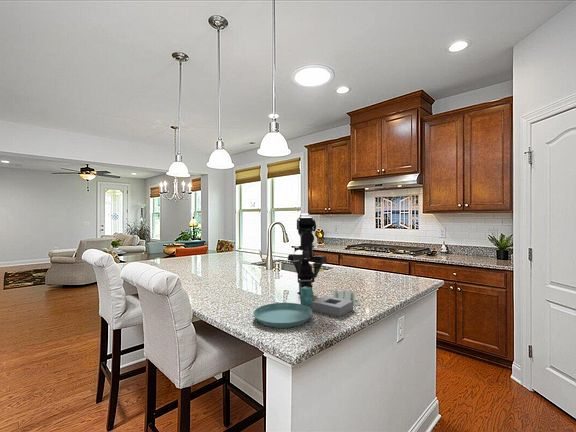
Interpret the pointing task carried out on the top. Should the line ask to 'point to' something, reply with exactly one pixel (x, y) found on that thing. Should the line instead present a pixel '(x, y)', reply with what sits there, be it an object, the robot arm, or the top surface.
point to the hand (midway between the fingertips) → (307, 276)
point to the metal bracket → (346, 296)
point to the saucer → (282, 315)
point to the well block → (332, 306)
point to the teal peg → (306, 296)
